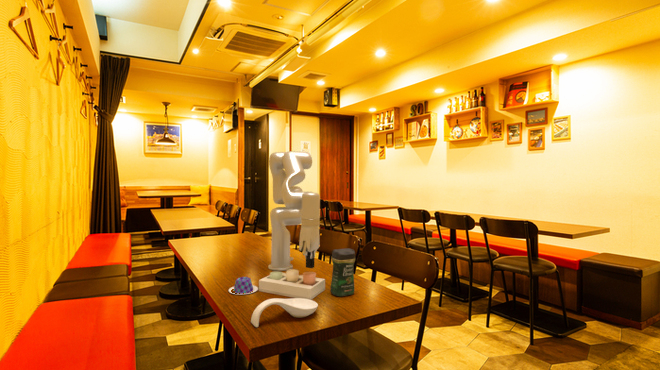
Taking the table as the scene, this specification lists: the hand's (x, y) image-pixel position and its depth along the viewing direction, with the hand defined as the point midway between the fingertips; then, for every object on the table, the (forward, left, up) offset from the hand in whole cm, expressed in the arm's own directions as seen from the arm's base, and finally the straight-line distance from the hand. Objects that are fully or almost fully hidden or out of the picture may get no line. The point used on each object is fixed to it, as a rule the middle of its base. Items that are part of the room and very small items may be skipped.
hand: (310, 267), depth 138 cm
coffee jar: (-6, +12, -11) cm, 18 cm away
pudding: (+9, -26, -11) cm, 30 cm away
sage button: (0, -16, -10) cm, 19 cm away
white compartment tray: (0, -8, -11) cm, 14 cm away
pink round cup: (0, 0, -8) cm, 8 cm away
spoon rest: (+24, +3, -11) cm, 27 cm away
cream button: (0, -8, -8) cm, 11 cm away
